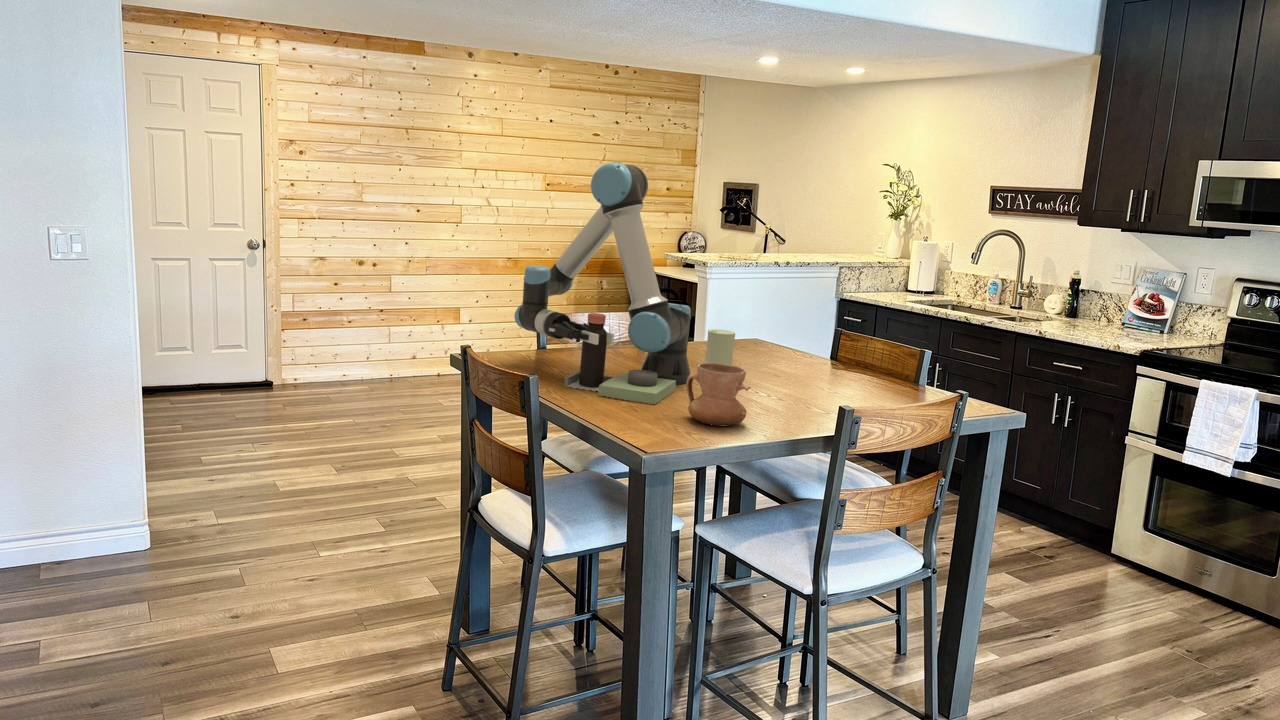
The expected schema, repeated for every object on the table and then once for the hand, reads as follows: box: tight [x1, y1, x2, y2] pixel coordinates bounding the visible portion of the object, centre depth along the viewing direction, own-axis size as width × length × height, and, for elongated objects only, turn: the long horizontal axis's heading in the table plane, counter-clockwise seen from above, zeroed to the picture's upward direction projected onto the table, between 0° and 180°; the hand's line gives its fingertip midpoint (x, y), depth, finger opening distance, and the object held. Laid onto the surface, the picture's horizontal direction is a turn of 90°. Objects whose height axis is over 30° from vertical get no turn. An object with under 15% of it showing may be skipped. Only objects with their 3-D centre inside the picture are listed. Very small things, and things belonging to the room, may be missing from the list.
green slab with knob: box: [563, 369, 677, 405], centre depth 257 cm, size 20×28×6 cm
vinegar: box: [579, 312, 608, 387], centre depth 258 cm, size 7×7×20 cm
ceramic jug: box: [685, 362, 752, 426], centre depth 231 cm, size 18×14×14 cm
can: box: [704, 328, 736, 366], centre depth 306 cm, size 9×9×12 cm
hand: (605, 339), depth 253 cm, fingers open, 5 cm apart
